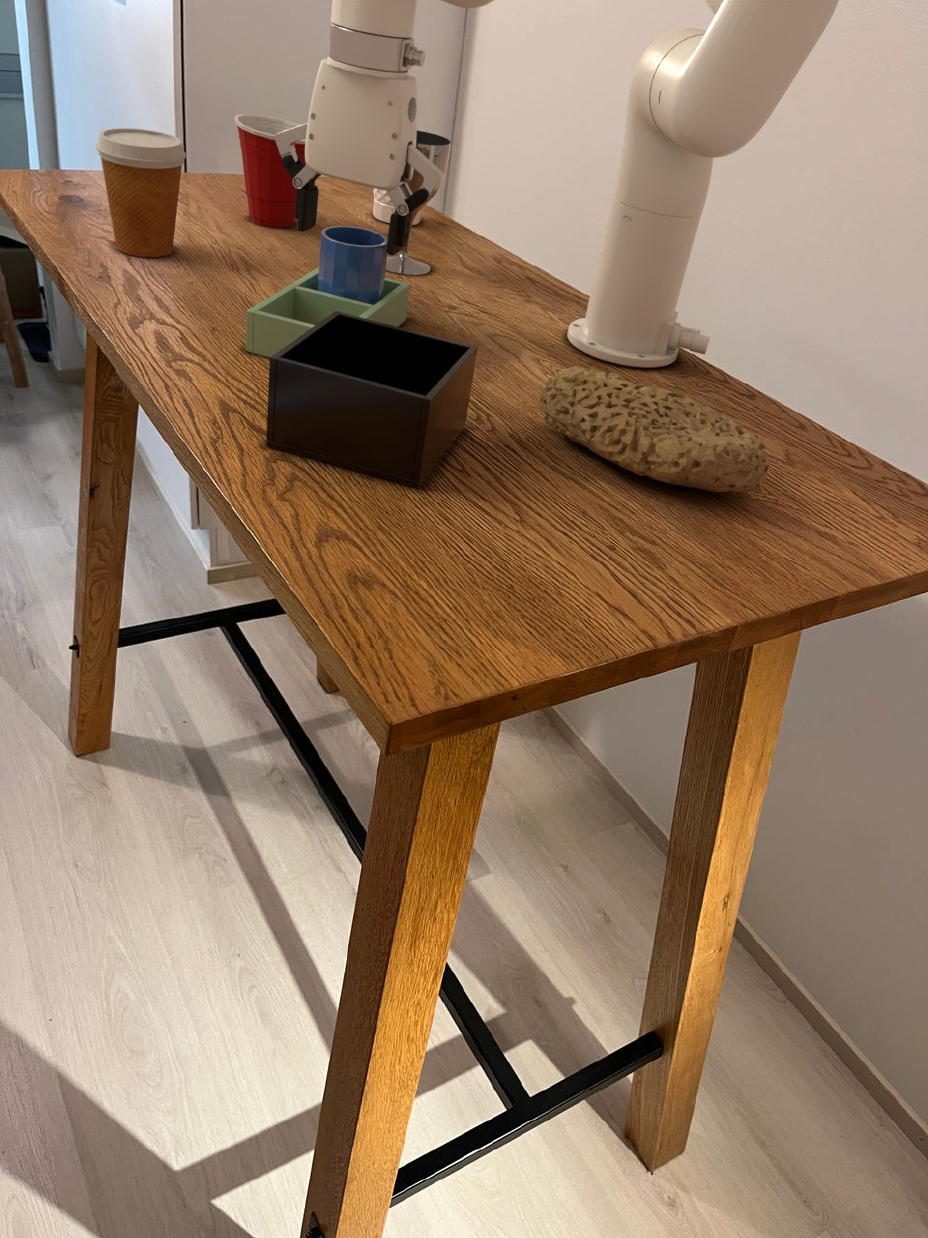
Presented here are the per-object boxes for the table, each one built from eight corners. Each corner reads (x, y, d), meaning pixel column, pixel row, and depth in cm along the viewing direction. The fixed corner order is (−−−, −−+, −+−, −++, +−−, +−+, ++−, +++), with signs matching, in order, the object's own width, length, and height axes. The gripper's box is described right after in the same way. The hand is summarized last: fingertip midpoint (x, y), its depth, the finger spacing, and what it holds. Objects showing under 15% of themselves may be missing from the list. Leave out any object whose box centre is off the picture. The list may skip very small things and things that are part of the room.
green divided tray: (406, 319, 112) (410, 283, 110) (340, 376, 97) (343, 335, 94) (322, 298, 113) (325, 262, 111) (245, 350, 98) (246, 310, 96)
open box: (464, 427, 91) (478, 346, 87) (417, 488, 81) (430, 400, 76) (328, 391, 93) (335, 310, 89) (265, 446, 83) (269, 357, 78)
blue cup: (388, 320, 111) (397, 236, 106) (365, 339, 105) (374, 251, 100) (330, 305, 112) (336, 221, 107) (305, 323, 106) (310, 235, 101)
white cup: (416, 230, 142) (425, 154, 136) (362, 219, 142) (369, 142, 137) (429, 218, 148) (438, 144, 142) (377, 207, 149) (384, 133, 143)
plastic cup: (308, 239, 131) (315, 138, 124) (224, 225, 130) (226, 123, 123) (319, 217, 140) (326, 122, 133) (240, 204, 139) (243, 108, 132)
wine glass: (386, 275, 123) (400, 143, 115) (361, 254, 129) (373, 126, 120) (444, 275, 127) (462, 146, 118) (417, 255, 132) (432, 130, 124)
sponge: (519, 443, 93) (681, 504, 79) (536, 356, 91) (706, 404, 76) (618, 449, 101) (781, 505, 87) (636, 369, 99) (807, 414, 85)
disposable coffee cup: (204, 253, 120) (204, 144, 113) (142, 267, 113) (138, 151, 106) (146, 231, 123) (143, 124, 116) (82, 243, 116) (75, 129, 109)
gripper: (469, 69, 96) (440, 253, 106) (300, 30, 98) (287, 213, 108) (445, 76, 90) (417, 270, 99) (265, 33, 92) (256, 227, 102)
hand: (350, 240), depth 104 cm, fingers open, 9 cm apart
